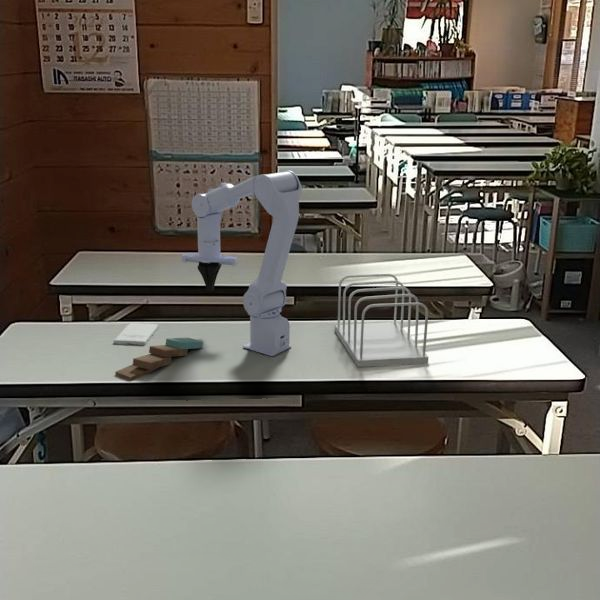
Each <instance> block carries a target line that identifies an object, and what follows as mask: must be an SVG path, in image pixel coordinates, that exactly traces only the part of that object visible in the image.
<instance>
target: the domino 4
mask: <svg viewBox="0 0 600 600" xmlns="http://www.w3.org/2000/svg"><path fill="white" fill-rule="evenodd" d="M165 345H167V346H171V347H174V348H178V349H188V350H189V349H190V350H191V349H203V347H204V346H203V345H204V341H202V340H199V339H196V338H195V339H194V338H191V337H174V338H173V337H172V338H169V337H168V338H166V339H165Z"/></svg>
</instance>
